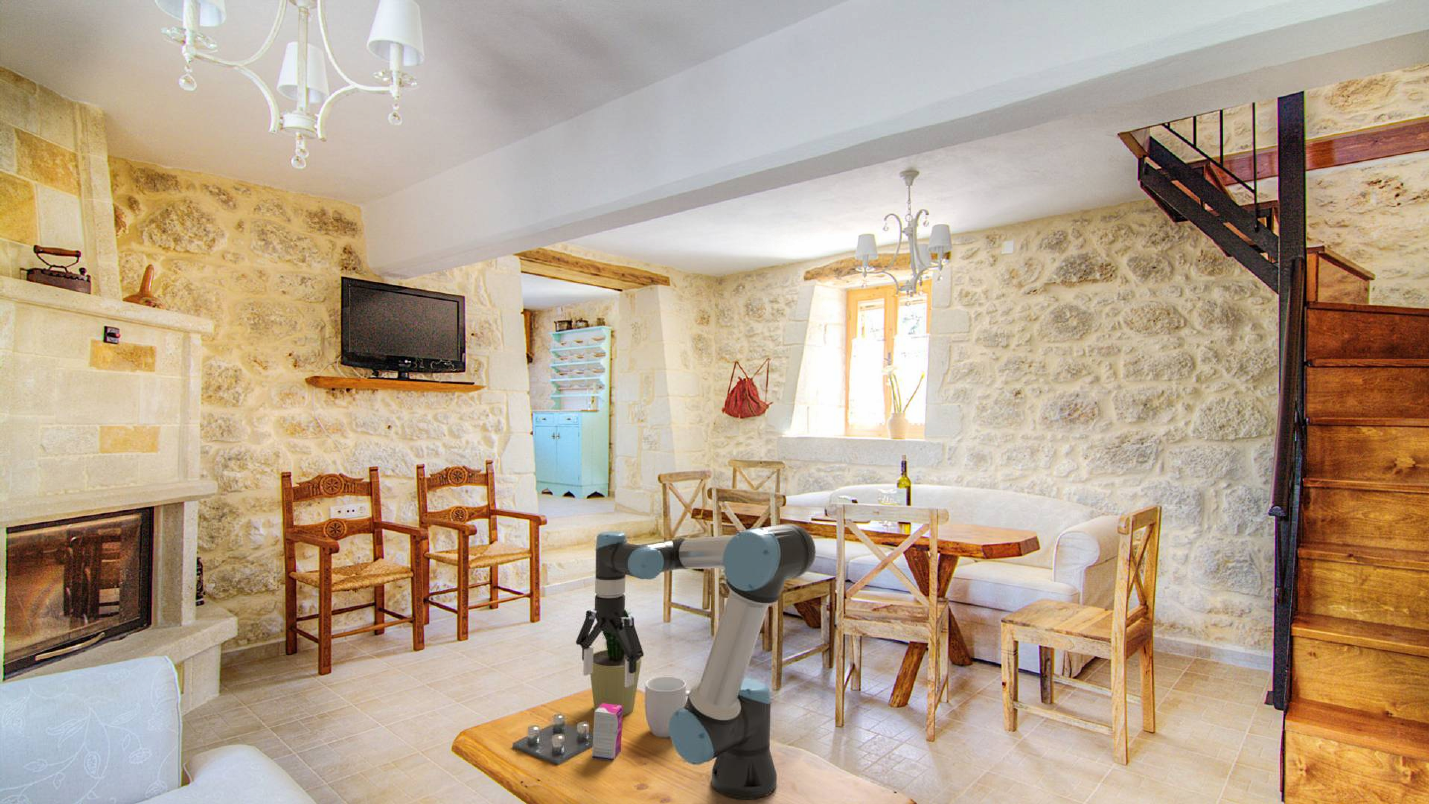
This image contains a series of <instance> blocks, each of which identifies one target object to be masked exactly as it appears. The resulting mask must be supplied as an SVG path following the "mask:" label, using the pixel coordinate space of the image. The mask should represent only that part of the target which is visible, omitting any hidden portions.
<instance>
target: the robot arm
mask: <svg viewBox="0 0 1429 804" xmlns="http://www.w3.org/2000/svg"><path fill="white" fill-rule="evenodd" d="M816 554H817V553H816V545H815V540H814V539H813V537H812V535H811V534H810V533H809V532H808V531H807V530H806V529H805V528H803V526H800V525H798V524H794V523H782V524H775V525H771V526H770V525H769V526H765V527H751V528H749V529H745V530H742V531H741V532H738V533H736V534H734V535H721V536H719V535H718V536H708V537H707V536H706V537H693V538H692V537H691V538H690V537H678V538H674V539H670V540H665V541H663V540H662V541H658V542H657V541H655V542H650V543H643V544H634V543H628V542H627V535H626V533H625V532H623V531H602V532H599V533H598V534H597V535H596V544H595V579H594V580H595V581H594V593H595V594H596V595H595V596H594V608H592V609H589V610H586V612H585V618H584V619H585V620H584V621H583V624H582V625H581V628H580V630H579V633H578V636H577V638H576V639H575V640H576V641H575V644H576V645H577V646H580V647H581V653H582V654H581V656H582V657H581V659H582V661H583V673H582V674H583V676H585V677H586V676H588V675H590V674H591V673H593V653H594V647H593V643H594V642H595V641H596V640H597V638H598V636H599V635H600V634H602V633H603V632H608V633H613V635H614V636H615V637H617V639H618V641H619V643H620V645H621V647H622V648H623V650H624V652H625V654H626V656H627V658H628V659H626V660H625V687H629V686H631V685H633V684H634V672H636V666H637V659H638V658H640V657H642V658H643V657H644V655H645V654H644V651H643V648H642V645H641V642H640V639H639V635H638V633H637V630H636V626H635V618H634V617H633V616H629V617H628V618H626V617H624V616H623V611H624V609H626V595H625V592H626V576H629V577H633V578H636V579H639V580H653V579H656V578H657V577H658V576H659V575H660V574H661V573H665V572H668V571H678V570H692V569H694V570H695V569H697V570H698V569H701V570H702V569H724V570H723V573H724V576H725V584H726V586H727V588H728V590H729V593H728V596H727V600H726V601H725V605H724V608H723V612H722V614H721V617H720V620H719V623H718V627H717V628H716V629H717V630H716V632H715V636H714V639H713V642H712V645H711V648H710V652H709V655H708V658H707V661H706V664H705V667H704V670H703V673H702V676H701V679H700V681H699V683H696V684H694V685H693V686H692V687H691V688H690V689H689V691H690V692H689V696H687V698H686V705H685V706H684V708H680V709H678V710H677V711H676V712H674V713H673V714H672V716H671V718H670V722H669V732H670V737H669V738H670V740H671V742H672V745H673V747H674V750H675V751H676V753H677V754H678V755H679V757H680V758H681V759H683V761H685V762H687V763H688V764H690V765H694V766H698V765H702V764H704V763H709V762H711V761H712V760H714V759H715V761H714V762H713V766H712V768H711V769H712V770H711V785H712V787H713V789H715V790H716V791H717V792H718V793H720V794H722V795H723V796H726V797H729V798H734V799H738V798H739V799H738V800H751V799H750V798H756V799H760V798H759V797H761V798H763V797H762V796H764V797H766V796H768V795H770V794H771V793H770V792H772V791H773V790H774V789H775V790H776V787H777V781H778V779H777V778H778V776H777V775H778V774H777V769H776V767H775V763H774V761H773V757H772V753H771V746H770V745H771V743H770V742H771V741H770V740H771V705H772V700H771V690H770V688H769V686H768V685H767V684H766V683H764V682H762V681H760V680H757V679H753V678H750V677H749V678H748V677H745V676H746V674H747V670H748V667H749V665H750V661H751V659H752V656H753V653H754V649H755V647H756V643H757V641H758V638H759V635H760V631H761V629H762V627H763V623H764V620H765V617H766V615H767V612H768V609H769V606H771V605H774V604H777V603H778V601H779V599H780V597H781V594H782V591H783V588H784V586H785V583H786V582H787V581H790V580H793V579H796V578H799V577H801V576H803V575H804V574H806V573H807V572H808V571H809V570H810V569H811V568H812V567H813V566H812V565H813V564H814V562H815V558H816ZM595 620H596V623H595ZM594 623H595V625H594ZM619 629H620V631H618V630H619ZM601 632H602V633H601ZM775 790H774V791H775ZM774 791H773V792H774ZM773 792H772V793H773ZM769 793H770V794H769ZM767 794H768V795H767ZM765 795H766V796H765Z"/></svg>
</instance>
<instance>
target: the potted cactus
mask: <svg viewBox="0 0 1429 804" xmlns="http://www.w3.org/2000/svg"><path fill="white" fill-rule="evenodd" d="M626 609H627V608H625V609H624V611H623V616H624V617H626V618H628V617H630V616H629V615H630V614H632V612H631V611H630V612H629V610H626ZM618 631H620V629H619V630H618ZM599 635H602V639H604V642H603V644H604V648H605V649H602V650H598V651H595V652H593V673H591V674H589V675H590V683H591V692H592V701H593V702H592V703H593V708H594V709H593V710H594V712H595V711H596V710H597V709H598V707H599V706H600V705H601V704H602V703H605V704H613V705H621V706H623V714H622V717H623V716H627V715H628V714H631V713H632V712H633V711H634V709H635V702H636V697H637V689H638V683H639V676H640V670H641V666H642V658H643V657H640V658H638V659H637V666H636V672H634V684H633V685H631V686H629V687H625V660H626V659H628V658H627V656H626V654H625V652H624V650H623V648H622V647H621V645H620V643H619V641H618V639H617V637H615V636H614V635H613V633H608V632H603V631H601V633H600V634H599Z"/></svg>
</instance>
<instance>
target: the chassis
mask: <svg viewBox="0 0 1429 804" xmlns="http://www.w3.org/2000/svg"><path fill="white" fill-rule="evenodd" d="M565 717H566V716H565V714H564V713H555V714H553V716H552V724H550V725H548V726H546V727H544V728H541V727H540V725H537V724H533V725H532V724H531V725H530V726H528V727H527V731H526V732H527V735H526V736H525V737H522V738H520V739H519V740H517V741H513V742H512V748H514V749H516V750H518V751H521V752H524V753H525V754H526V753H527V754H529V755H531V756H534V757H536V758H539V759H541V760H544V761H547V762H549V763H552V764H554V765H557V766H558V765H560V764H562V763H564V762H566V761H568V760H569V759H572V758H573V757H575V756H577V755H579V754H581V753H583V752H584V751H586V750H588V749H590V748H591V747H592V748H593V732H590V723H589V722H587V721H581V722H578V723H577V724H576V725H577V726H574V725H571V724H568V723H565V719H566V718H565Z"/></svg>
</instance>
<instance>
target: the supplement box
mask: <svg viewBox="0 0 1429 804" xmlns="http://www.w3.org/2000/svg"><path fill="white" fill-rule="evenodd" d="M622 714H623V706H621V705H613V704H605V703H602V704H601V705H600V706H599V707H598V709H597V710H596V711H595V710H594V716H593V732H592V733H593V746H592V751H591V752H592V754H591V758H592V759H597V760H602V761H603V760H606V761H611V762H612V761H614V760H615V758H616V757H617V756H618V755H619V753H620V752H621V750H622V734H623V733H622V731H623V716H622Z"/></svg>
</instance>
